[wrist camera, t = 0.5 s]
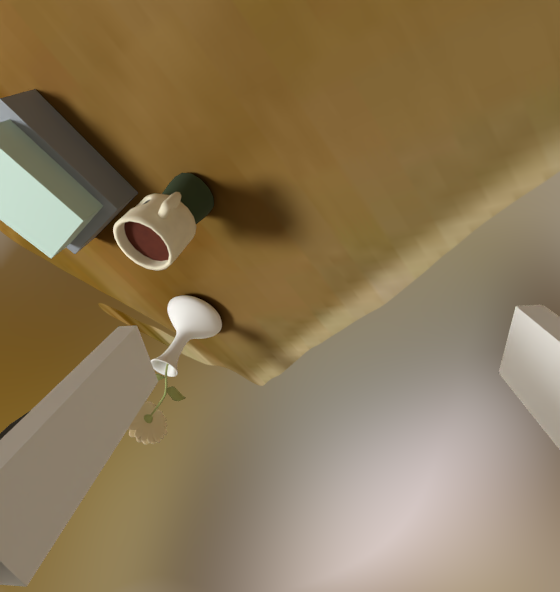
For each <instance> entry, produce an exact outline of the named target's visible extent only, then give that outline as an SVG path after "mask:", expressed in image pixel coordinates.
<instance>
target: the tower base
mask: <svg viewBox="0 0 560 592" xmlns="http://www.w3.org/2000/svg"><path fill="white" fill-rule="evenodd" d="M137 194H138V192H137V191H136V190H135V189H134V188H133V187H132V186H131V185H130V184H129V183H128V182H127V181H126V180H125V179H124V178H123V177H122V176H121V175H120V174H119V173H118V172H117V171H116V170H115V169H114V168H113V167H112V166H111V165H110V164H109V163H108V162H107V161H106V160H105V159H104V158H103V157H102V156H101V155H100V154H99V153H98V152H97V151H96V150H95V149H94V148H93V147H92V146H91V145H90V144H89V143H88V142H87V141H86V140H85V139H84V138H83V137H82V136H81V135H80V134H79V133H78V132H77V131H76V130H75V129H74V128H73V127H72V126H71V125H70V124H69V123H68V122H67V121H66V120H65V119H64V118H63V117H62V116H61V115H60V114H59V113H58V112H57V111H56V110H55V109H54V108H53V107H52V106H51V105H50V104H49V103H48V102H47V101H46V100H45V99H44V98H43V97H42V96H41V95H40V94H39V93H38V92H37V91H36V90H35V89H34V90H30V91H27V92H23V93H19V94H15V95H12V96H8V97H4V98H1V99H0V220H2V221H3V222H4V223H5V224H7V225H8V226H9V227H11V228H12V229H13V230H15V231H16V232H17V233H18V234H20V235H21V236H22V237H24V238H25V239H26V240H28V241H29V242H30V243H31V244H33V245H34V246H35V247H37V248H38V249H39V250H41V251H42V252H43V253H44V254H46V255H47V256H48V257H50V258H53V257H54V256H55V255H56V254H58V253H59V252H60V251H62V250H63V249H64V248H65V247H67V248H68V249H69V250H70V251H72V252H73V253H74V254H76V253H77V252H78V251H79V250H81V249H82V248H83V247H84V246H85V245H87V244H88V243H89V242H90V241H91V240H93V239H94V238H95V237H96V236H97V235H98V234H99V233H100V232H101V231H102V230H103V229H104V228H105V227H106V226H107V225H108V224H109V223H110V222H111V221H112V220H113V219H114V217H115V216H116V215H117V214H118V213H119V212H120V211H121V210H122V209H123V208H124V207H125V206H126V205H127V204H128V203H129V202H130V201H131V200H132V199H133V198H134V197H135V196H136V195H137Z"/></svg>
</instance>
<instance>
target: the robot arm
mask: <svg viewBox="0 0 560 592" xmlns="http://www.w3.org/2000/svg"><path fill="white" fill-rule="evenodd" d="M499 374H500V375H501V377H502V378H503V379H504V380H505V382H506V383H507V384H508V385H509V387H510V388H511V389H512V390H513V392H514V393H515V394H516V396H517V397H518V398H519V399H520V401H521V402H522V403H523V404H524V406H525V407H526V408H527V409H528V410H529V412H530V413H531V414H532V415H533V417H534V418H535V419H536V421H537V422H538V423H539V424H540V426H541V427H542V428H543V429H544V431H545V432H546V433H547V434H548V436H549V437H550V438H551V440H552V441H553V442H554V443H555V444H556V446H557V447H558V448H559V450H560V317H559V316H557V315H556V314H554V313H553V312H552V311H550V310H549V309H548V308H546V307H545V306H544V305H528V306H516V308H515V312H514V315H513V319H512V323H511V327H510V331H509V335H508V339H507V343H506V347H505V350H504V355H503V358H502V362H501V366H500V370H499ZM157 382H158V379H157V377H156V374H155V371H154V369H153V366H152V364H151V361H150V358H149V356H148V353H147V351H146V348H145V345H144V343H143V340H142V338H141V335H140V332H139V330H138V327H137V326H121V327H118V328H117V329H115V330H114V331H113V332H112V333H111V334H110V335H109V336H108V337H107V338H106V339H105V340H104V341H103V342H102V343H101V344H100V345H99V346H98V347H97V348H96V349H95V350H94V351H92V352H91V353H90V354H89V355H88V356H87V357H86V358H85V359H84V360H83V361H82V362H81V363H80V364H79V365H78V366H77V367H76V368H75V369H74V370H73V371H72V372H71V373H70V374H68V375H67V376H66V377H65V378H64V379H63V380H62V381H61V382H60V383H59V384H58V385H57V386H56V387H55V388H54V389H53V390H52V391H51V392H50V393H49V394H48V395H47V396H46V397H44V398H43V399H42V400H41V401H40V402H39V403H38V404H37V405H36V406H35V407H34V408H33V409H32V410H31V411H29V412H28V413H26V414H25V415H23V416H22V417H20V418H19V419H18V420H16V421H15V422H13V423H12V424H10V425H9V426H8V427H7V428H6V429H5V430H4V431H3V432H1V434H0V584H2V585H14V586H27V585H28V583H29V582H30V580H31V579H32V577H33V576H34V574H35V572H36V571H37V569H38V568H39V566H40V565H41V563H42V562H43V560H44V558H45V557H46V555H47V553H48V552H49V551H50V549H51V547H52V546H53V544H54V543H55V541H56V540H57V538H58V537H59V535H60V534H61V532H62V530H63V529H64V527H65V526H66V524H67V523H68V521H69V520H70V518H71V516H72V515H73V513H74V511H75V510H76V508H77V507H78V505H79V504H80V502H81V501H82V499H83V498H84V496H85V495H86V493H87V491H88V490H89V488H90V487H91V485H92V484H93V482H94V481H95V479H96V477H97V476H98V474H99V473H100V471H101V470H102V468H103V467H104V465H105V463H106V462H107V460H108V459H109V457H110V455H111V454H112V453H113V451H114V449H115V448H116V446H117V445H118V443H119V442H120V440H121V439H122V437H123V435H124V434H125V432H126V431H127V429H128V428H129V426H130V425H131V423H132V421H133V420H134V418H135V417H136V415H137V414H138V412H139V410H140V409H141V407H142V406H143V404H144V403H145V401H146V400H147V398H148V396H149V395H150V393H151V392H152V390H153V389H154V387H155V386H156V384H157Z"/></svg>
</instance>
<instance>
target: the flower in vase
mask: <svg viewBox="0 0 560 592" xmlns="http://www.w3.org/2000/svg"><path fill="white" fill-rule="evenodd" d="M168 314H169V317H170V320H171V322H172V324H173V325H174V327H175V329H176V331H177V334H176V337H175V339H174V341H173V342H172V344H171V345H170V346H169V348H168V349H167V350H166V351H165V352H164V353H163V354H162V355H161V356H159V357H158V358H155V359H153V360H151V364H152V366H153V368H154V369H155V370H156V371H158V372H159V373H161V374H163V375H165V377H164V376H162V375H159V374H156V377H157V379H158V381H159V380H161V379H163V378H165V393H164V396H163V397H162V399H161V400H160V402H159V403H158V405H154V404H153V403H152V402H150V401H148V402H147V401H145V403H144V404H143V406H142V407H141V409H140V410H139V412H138V414H137V415H136V417H135V418H134V420H133V421H132V423H131V425H130V426H129V428H128V429H129V430H130V432H129V436H131V437H134V436H135V437H136V439H137V441H138V442H141V441H143V443H144V444H145V445H146V444H148V442H149V443H152V444H155V443H156V442H157V443H159V442H160V438H161V439H163V438H164V435H167V429H166V427H167V423H166V422H165V421H166V417H165V416H164V415H163V412H162V411H160V410H158V407H159V405H160V404H161V402H162V401H163V399H164V398H165V396H166V393H168V394H169V395H170V397H171V398H172V399H173V400H175V401H180V400H183V399H185V397H184V396H183V395H182V394H181V393H180V392H179V391H178V390H177V389H176V388H175V387H169V388H167V376H176V375H177V374H178V371H177V362H178V358H179V356H180V354H181V351H182V350H183V348H184V346H185V345H186V343H187V342H188V341H189V340H190V339H200V338H208V337H212V336H215V335H216V334H217V333H219V332H220V330H221V328H222V321H221V318H220V315H219V314H218V312H217V311H216V310H215V309H214V308H213V307H212V306H211V305H210V304H208V303H207V302H205V301H203V300H201V299H199V298H197V297H193V296H188V295H182V296H177V297H175V298H173V299H171V300H170V302H169V304H168ZM163 434H164V435H163Z"/></svg>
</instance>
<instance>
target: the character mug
mask: <svg viewBox="0 0 560 592" xmlns="http://www.w3.org/2000/svg"><path fill="white" fill-rule="evenodd" d="M213 206H214V200H213V195H212V193H211V191H210V189H209V188H208V187H207V186H206V184H205V183H204V182H203V181H202V180H201V179H199V178H198V177H196V176H195V175H193V174H190V173H181V174H179V175H178V176H176V177H175V178H174V179H173V180H172V181H171V182H170V183H169V185H168V186H167V188H166V189H165V190H164V192H163V193H162V194H157V193H154V194H151V195H148V196H146V197H145V198H144V199H143V200H142V201H141V202H140V203H139V204H138V205H137V206H136V207H134V208H132V209H130V210H129V211H128V212H127V213H126V214H125V215H124V216H123V217H122V218H120V219H119V220H118V221H117V222H116V223H115V225H114V227H113V233H114V238H115V240H116V242H117V244H118V246H119V247H120V248H121V250H122V251H123V252H124V253H125V255H126V256H128V257H129V258H130V259H131V260H132V261H134V262H135V263H136V264H138V265H140V266H142V267H145V268H147V269H151V270H156V271H158V270H164V269H166V268H168V267H169V266H170V265H171V264H172V263H173V262H174V261H175V259H176V258H177V257H178V256H179V254H180V253H181V252H182V251H183V250H184V248H185V247H186V246H187V245H188V243H189V242H190V241H191V240H192V239H193V237H194V235H195V231H196V224H197V223H198V222H199V221H201V220H202V219H203V218H204V217H206V216H207V215H208V214H209V213H210V211H211V210H212V208H213Z"/></svg>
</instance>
